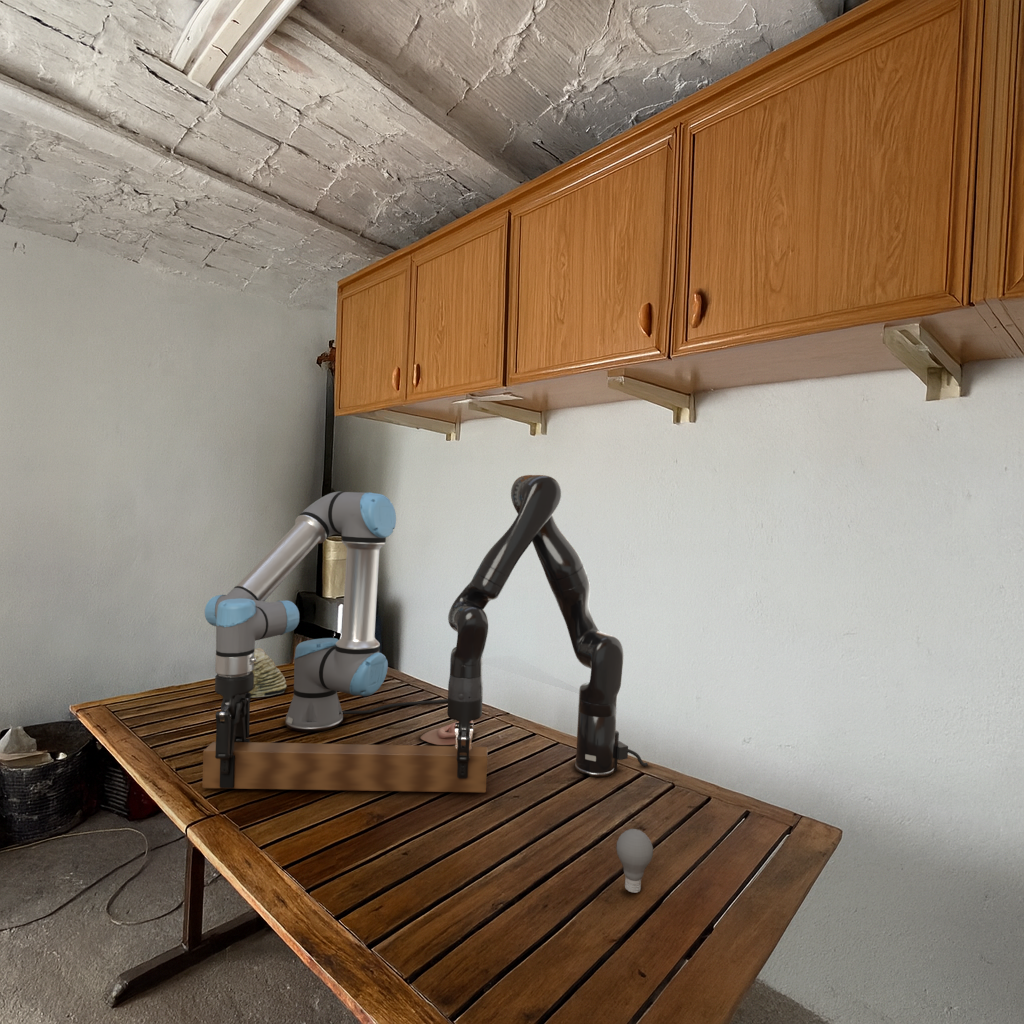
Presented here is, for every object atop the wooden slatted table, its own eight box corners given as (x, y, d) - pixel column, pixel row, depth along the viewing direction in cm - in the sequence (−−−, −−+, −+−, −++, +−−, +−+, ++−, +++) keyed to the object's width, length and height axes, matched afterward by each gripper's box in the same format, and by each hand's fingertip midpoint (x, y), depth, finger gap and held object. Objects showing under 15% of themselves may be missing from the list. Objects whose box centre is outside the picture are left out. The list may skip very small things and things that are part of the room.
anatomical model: (416, 727, 165) (431, 713, 176) (416, 742, 165) (430, 727, 176) (465, 733, 162) (477, 718, 174) (465, 748, 162) (476, 732, 174)
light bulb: (610, 879, 108) (613, 822, 108) (644, 879, 109) (647, 822, 109) (619, 902, 102) (622, 840, 102) (655, 901, 103) (658, 840, 103)
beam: (202, 788, 132) (203, 750, 132) (212, 777, 137) (213, 741, 137) (485, 792, 136) (487, 756, 136) (485, 781, 141) (487, 746, 140)
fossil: (218, 695, 195) (220, 647, 195) (278, 685, 208) (279, 640, 207) (228, 703, 189) (230, 653, 188) (289, 692, 201) (290, 645, 201)
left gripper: (236, 686, 126) (234, 801, 126) (266, 661, 144) (264, 762, 144) (197, 685, 125) (195, 801, 126) (233, 660, 143) (230, 762, 144)
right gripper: (482, 705, 130) (480, 787, 131) (482, 685, 145) (479, 758, 145) (446, 705, 130) (443, 787, 130) (449, 684, 144) (446, 758, 145)
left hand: (232, 780), depth 135 cm, fingers closed on beam, 5 cm apart
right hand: (462, 771), depth 138 cm, fingers closed on beam, 5 cm apart
